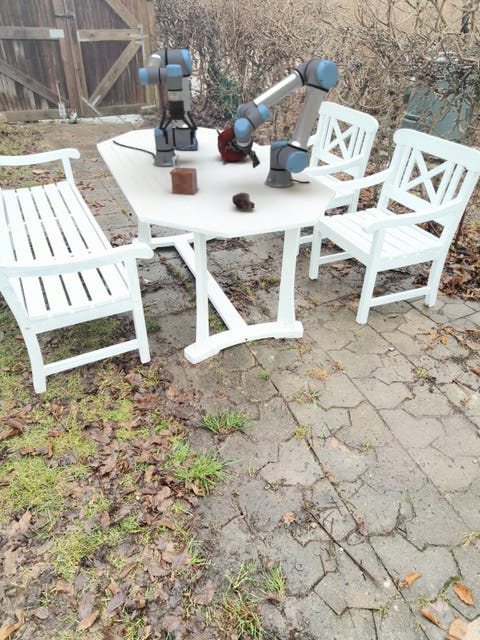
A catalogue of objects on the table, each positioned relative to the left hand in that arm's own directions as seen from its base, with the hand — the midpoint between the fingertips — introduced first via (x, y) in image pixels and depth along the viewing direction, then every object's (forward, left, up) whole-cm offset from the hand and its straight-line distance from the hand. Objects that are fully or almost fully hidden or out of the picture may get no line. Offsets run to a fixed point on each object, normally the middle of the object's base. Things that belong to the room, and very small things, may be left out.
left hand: (179, 144), depth 238 cm
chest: (+3, -1, -24) cm, 25 cm away
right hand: (+20, +31, -10) cm, 38 cm away
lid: (+3, -1, -14) cm, 14 cm away
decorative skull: (-21, +65, -24) cm, 72 cm away
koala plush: (-68, +63, -24) cm, 95 cm away
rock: (+45, 0, -24) cm, 51 cm away
